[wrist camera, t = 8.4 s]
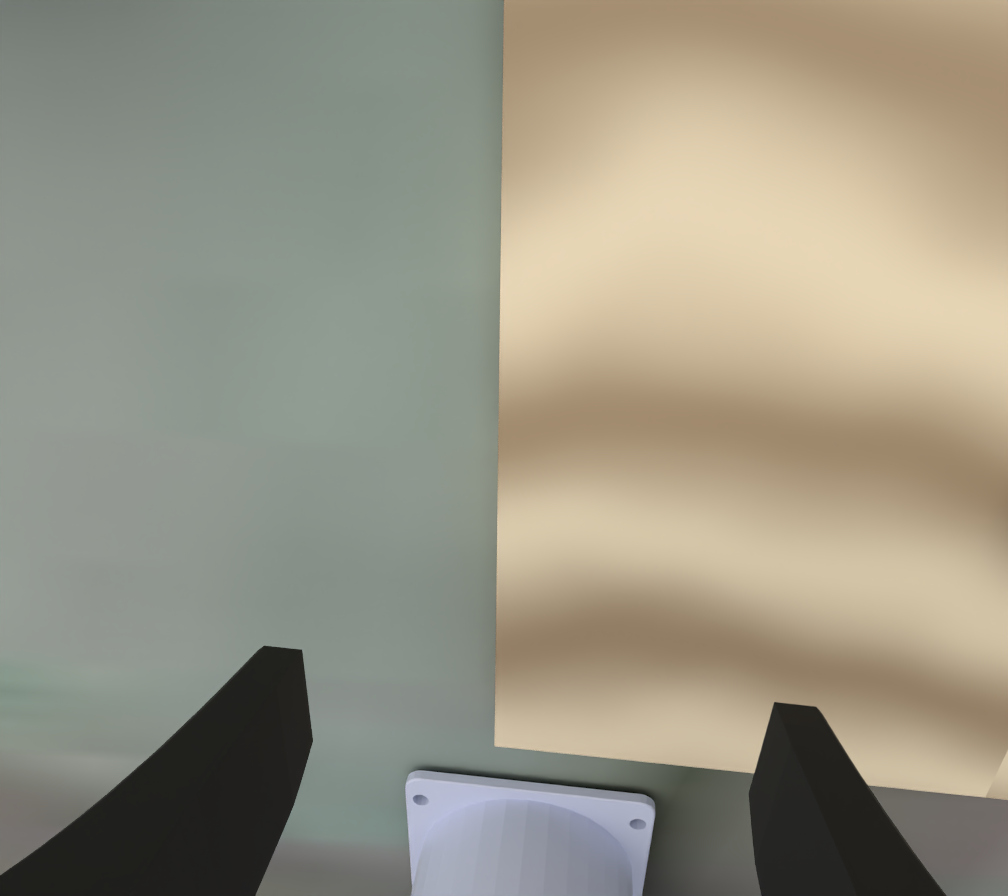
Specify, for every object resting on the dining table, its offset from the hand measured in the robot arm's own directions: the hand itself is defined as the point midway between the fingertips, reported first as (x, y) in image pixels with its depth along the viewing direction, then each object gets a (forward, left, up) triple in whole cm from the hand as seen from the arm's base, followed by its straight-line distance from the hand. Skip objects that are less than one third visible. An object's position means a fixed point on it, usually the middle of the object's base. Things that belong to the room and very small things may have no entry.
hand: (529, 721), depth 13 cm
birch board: (+1, -11, -9) cm, 14 cm away
